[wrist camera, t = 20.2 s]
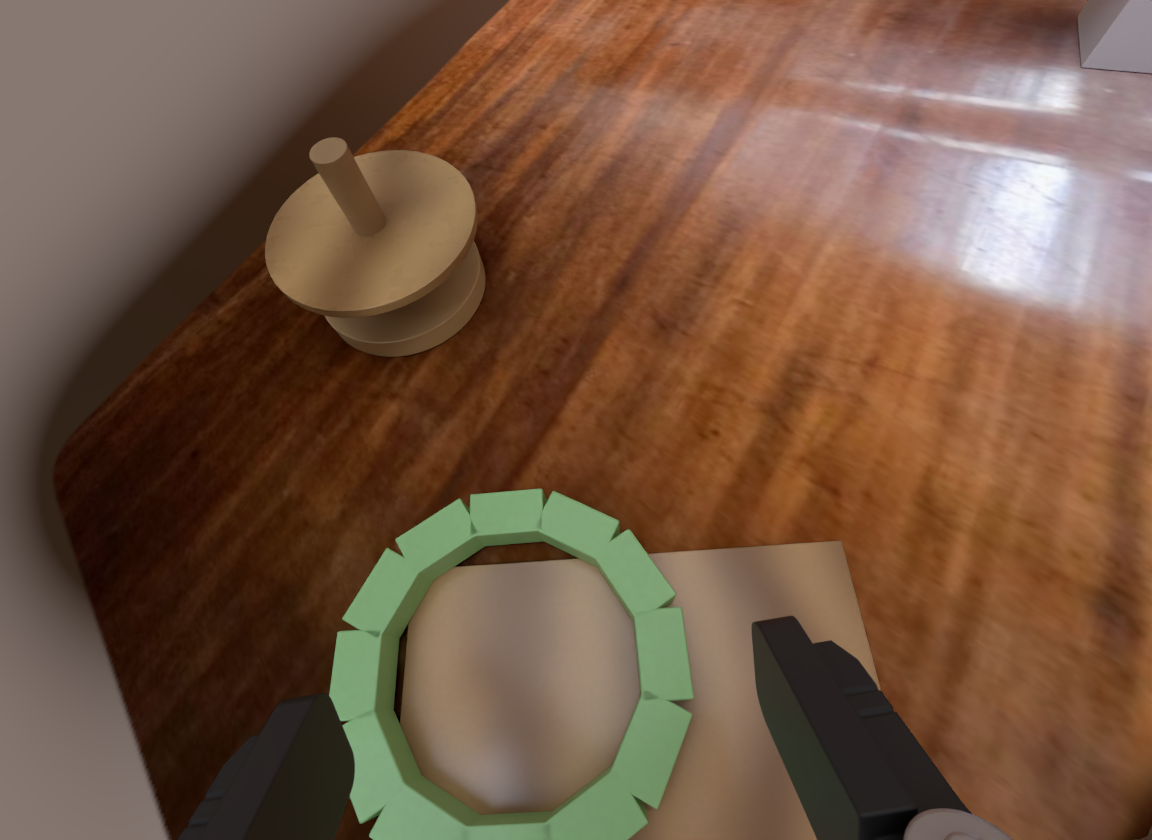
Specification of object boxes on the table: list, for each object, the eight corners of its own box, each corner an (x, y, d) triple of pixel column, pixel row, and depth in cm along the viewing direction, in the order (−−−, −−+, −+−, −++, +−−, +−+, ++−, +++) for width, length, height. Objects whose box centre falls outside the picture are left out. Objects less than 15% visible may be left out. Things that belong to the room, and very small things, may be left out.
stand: (302, 377, 32) (175, 258, 23) (332, 231, 37) (237, 87, 28) (497, 359, 31) (442, 229, 22) (499, 212, 36) (456, 59, 28)
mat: (380, 991, 20) (376, 997, 19) (415, 570, 26) (412, 569, 26) (954, 982, 18) (960, 988, 18) (838, 542, 25) (841, 540, 25)
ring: (329, 885, 21) (301, 903, 19) (371, 516, 27) (353, 504, 26) (712, 868, 20) (720, 886, 18) (662, 491, 27) (664, 477, 25)
